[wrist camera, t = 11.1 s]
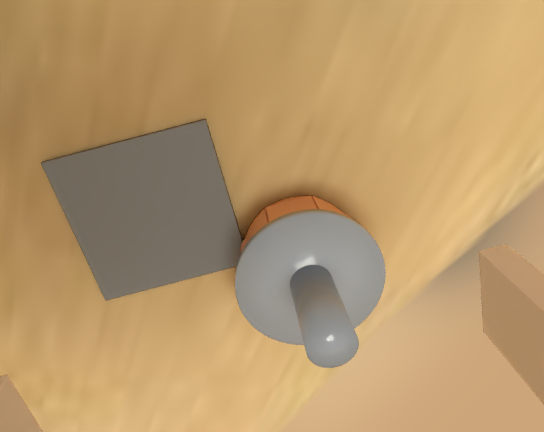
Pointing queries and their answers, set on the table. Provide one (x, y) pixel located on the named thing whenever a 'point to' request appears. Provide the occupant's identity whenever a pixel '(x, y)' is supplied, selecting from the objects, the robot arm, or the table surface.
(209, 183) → the mat
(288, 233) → the lid
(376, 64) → the table surface
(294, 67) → the table surface
